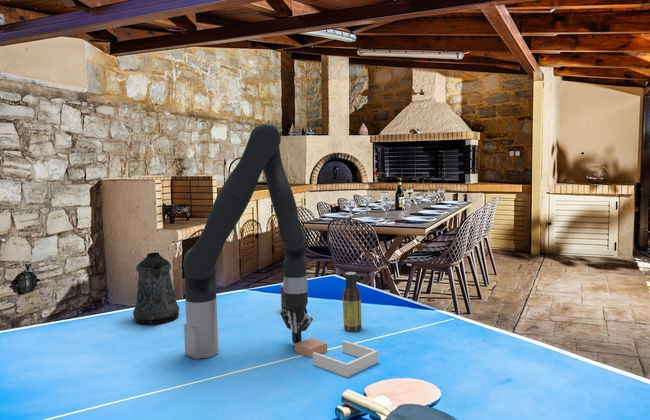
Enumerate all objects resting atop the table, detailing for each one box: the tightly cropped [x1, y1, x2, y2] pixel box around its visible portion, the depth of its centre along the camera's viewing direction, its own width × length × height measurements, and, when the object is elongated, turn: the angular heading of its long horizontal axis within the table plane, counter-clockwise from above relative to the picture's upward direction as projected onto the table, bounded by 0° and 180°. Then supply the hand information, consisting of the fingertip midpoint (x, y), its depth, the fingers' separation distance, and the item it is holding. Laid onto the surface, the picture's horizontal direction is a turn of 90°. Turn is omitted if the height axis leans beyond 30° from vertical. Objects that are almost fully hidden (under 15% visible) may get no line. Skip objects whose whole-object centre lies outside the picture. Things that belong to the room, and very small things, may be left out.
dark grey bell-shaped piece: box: [132, 252, 180, 326], centre depth 194 cm, size 16×19×25 cm
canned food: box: [280, 282, 286, 312], centre depth 202 cm, size 8×8×11 cm
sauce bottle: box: [342, 271, 362, 333], centre depth 180 cm, size 6×6×20 cm
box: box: [312, 340, 379, 378], centre depth 151 cm, size 14×13×4 cm
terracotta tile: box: [294, 337, 328, 359], centre depth 161 cm, size 7×7×3 cm
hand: (296, 343), depth 165 cm, fingers closed
